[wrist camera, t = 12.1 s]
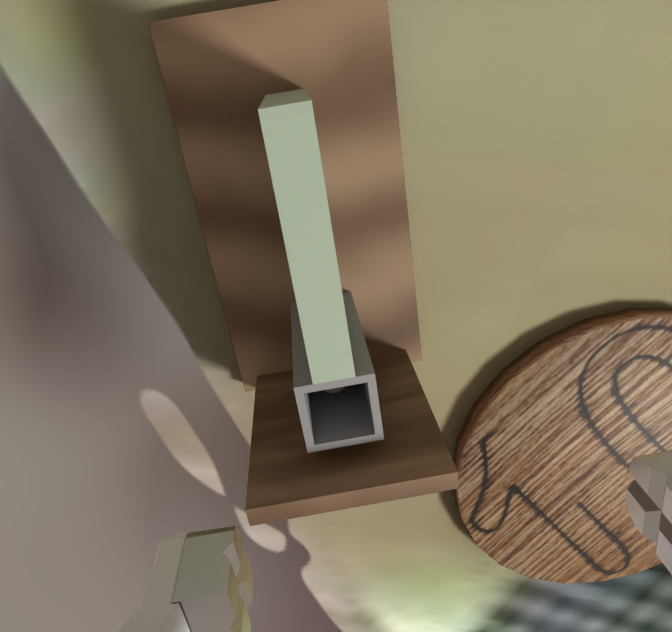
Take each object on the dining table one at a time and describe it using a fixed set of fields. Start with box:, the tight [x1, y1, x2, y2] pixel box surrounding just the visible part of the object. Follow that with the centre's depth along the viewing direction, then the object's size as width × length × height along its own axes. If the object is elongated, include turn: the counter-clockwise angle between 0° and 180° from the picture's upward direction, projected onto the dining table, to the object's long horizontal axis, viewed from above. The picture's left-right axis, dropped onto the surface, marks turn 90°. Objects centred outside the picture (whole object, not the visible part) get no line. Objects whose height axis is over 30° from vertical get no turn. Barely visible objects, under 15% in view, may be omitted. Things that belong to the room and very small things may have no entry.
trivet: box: [453, 309, 672, 583], centre depth 43 cm, size 25×25×2 cm
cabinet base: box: [148, 0, 459, 526], centre depth 27 cm, size 22×12×13 cm, turn 9°
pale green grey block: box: [258, 89, 384, 453], centre depth 28 cm, size 16×4×10 cm, turn 9°
